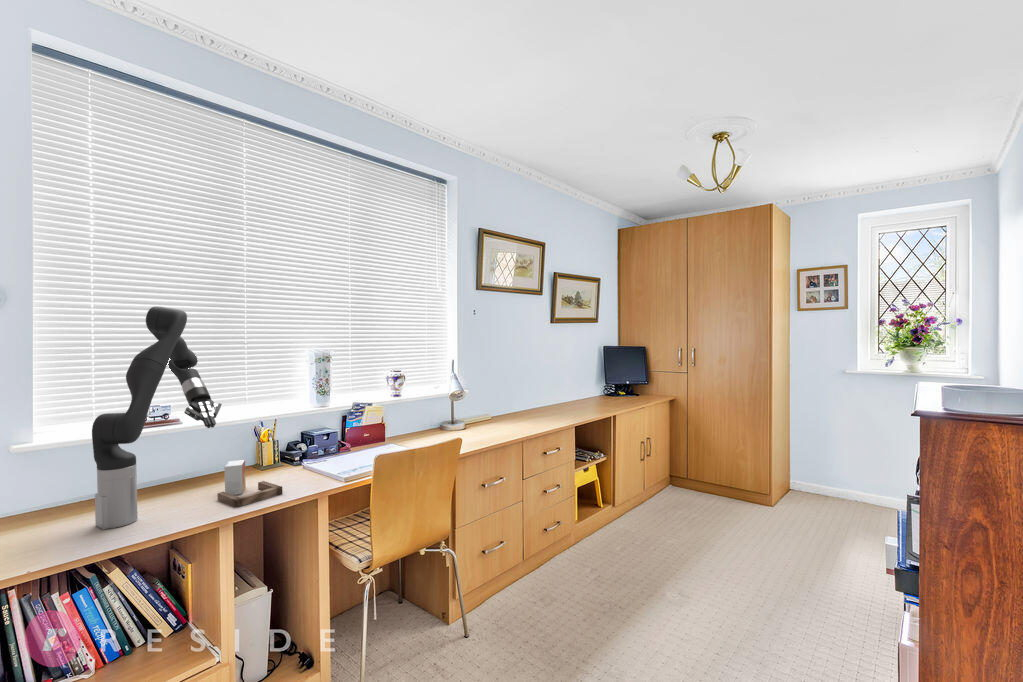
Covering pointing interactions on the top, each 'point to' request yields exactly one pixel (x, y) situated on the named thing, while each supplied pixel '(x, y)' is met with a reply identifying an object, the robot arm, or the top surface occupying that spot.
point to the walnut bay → (251, 495)
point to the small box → (235, 477)
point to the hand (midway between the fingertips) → (211, 426)
